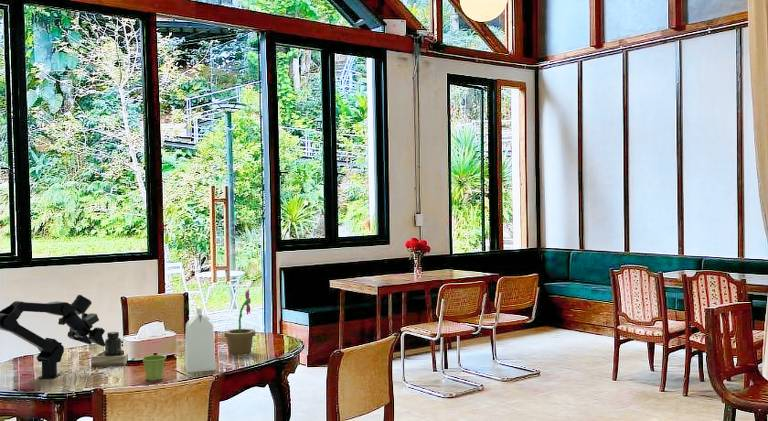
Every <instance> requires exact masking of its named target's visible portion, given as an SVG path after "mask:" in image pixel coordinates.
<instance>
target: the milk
mask: <svg viewBox="0 0 768 421" xmlns="http://www.w3.org/2000/svg"><path fill="white" fill-rule="evenodd" d="M184 340H185V343H184V368H185V371H186V373H195V372H196V373H197V372H206V371H207V372H208V371H215V370H216V357H215V356H216V354H215V335H214V325H213V323H212V322H211V321H210V317H208V316H207V315H206V314H203V312H202V308H201V307H200V306H196V312H195V314H194V315H193V316H192V317H190V319H188V320H187V322H186V323H185V339H184Z"/></svg>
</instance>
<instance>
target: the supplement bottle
mask: <svg viewBox="0 0 768 421" xmlns="http://www.w3.org/2000/svg"><path fill="white" fill-rule="evenodd" d="M119 336H120V333H119V331H110V332H107V336H106V337H107V338H106V339H105V340H104V342H105V346H104V350H105V356H121V350H122V339H121V338H120V337H119Z"/></svg>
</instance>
